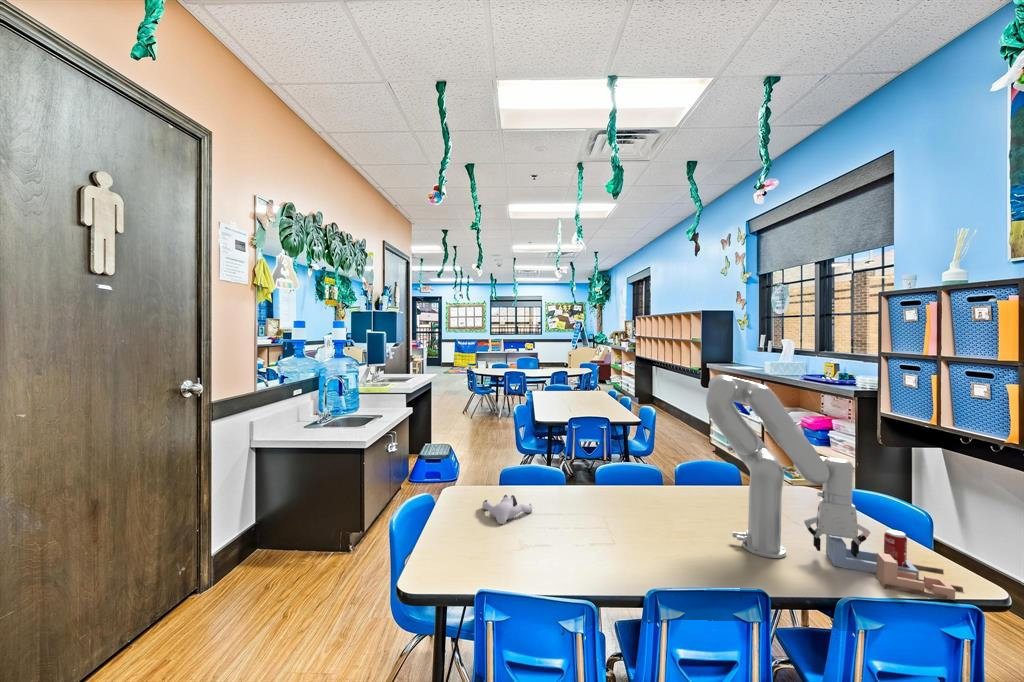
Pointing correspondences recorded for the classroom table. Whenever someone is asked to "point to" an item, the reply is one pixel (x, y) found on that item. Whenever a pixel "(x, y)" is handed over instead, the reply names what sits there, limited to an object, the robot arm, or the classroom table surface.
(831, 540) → the frame
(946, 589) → the broken frame end
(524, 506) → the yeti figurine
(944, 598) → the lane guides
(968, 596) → the classroom table surface
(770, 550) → the robot arm
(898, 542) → the soda can
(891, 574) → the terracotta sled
